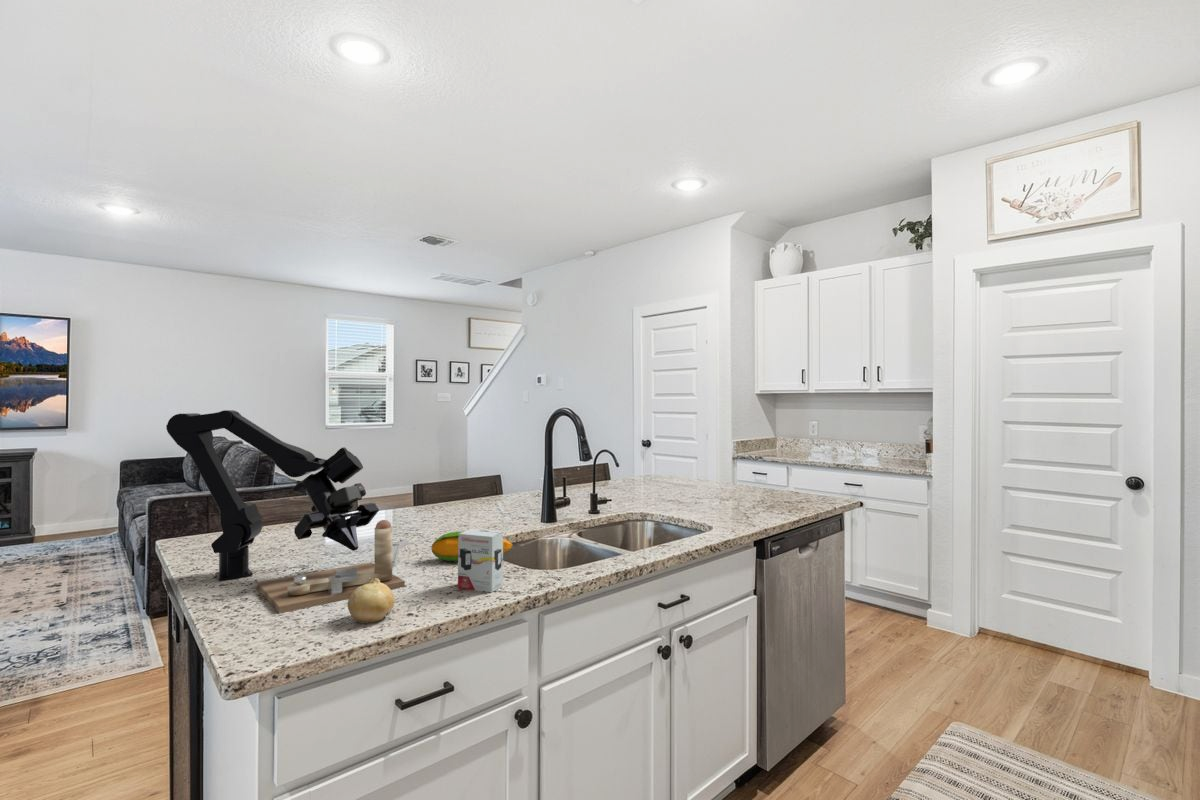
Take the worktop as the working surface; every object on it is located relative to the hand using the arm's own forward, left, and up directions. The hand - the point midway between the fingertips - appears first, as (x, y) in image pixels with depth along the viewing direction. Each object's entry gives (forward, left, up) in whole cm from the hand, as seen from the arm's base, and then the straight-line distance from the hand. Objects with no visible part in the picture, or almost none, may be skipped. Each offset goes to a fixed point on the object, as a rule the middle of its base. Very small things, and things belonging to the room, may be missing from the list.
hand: (356, 549), depth 129 cm
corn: (+2, +28, -7) cm, 29 cm away
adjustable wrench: (-16, +14, -7) cm, 23 cm away
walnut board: (+2, -6, -7) cm, 9 cm away
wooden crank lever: (+8, -5, -5) cm, 11 cm away
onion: (+26, -6, -7) cm, 28 cm away
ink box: (+23, +18, -7) cm, 30 cm away
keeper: (+9, -8, -5) cm, 13 cm away
